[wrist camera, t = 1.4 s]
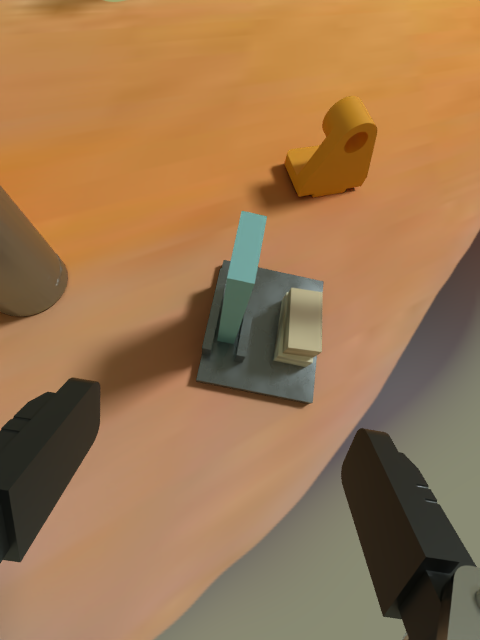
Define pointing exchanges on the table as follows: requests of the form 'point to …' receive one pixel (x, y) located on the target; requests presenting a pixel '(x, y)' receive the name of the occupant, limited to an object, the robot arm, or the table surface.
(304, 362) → the block
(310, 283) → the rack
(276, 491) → the table surface
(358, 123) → the bracket
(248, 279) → the teal rectangular slab
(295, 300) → the offcut top
